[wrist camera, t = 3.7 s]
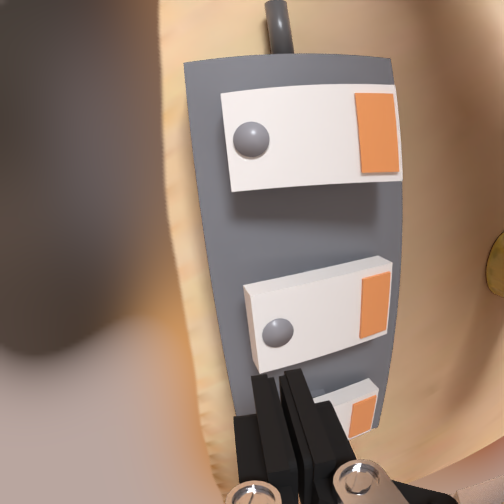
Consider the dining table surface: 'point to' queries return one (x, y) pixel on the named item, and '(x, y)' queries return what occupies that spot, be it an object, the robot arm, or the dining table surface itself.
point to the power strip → (288, 214)
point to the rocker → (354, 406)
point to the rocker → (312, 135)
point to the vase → (496, 267)
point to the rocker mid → (317, 311)
